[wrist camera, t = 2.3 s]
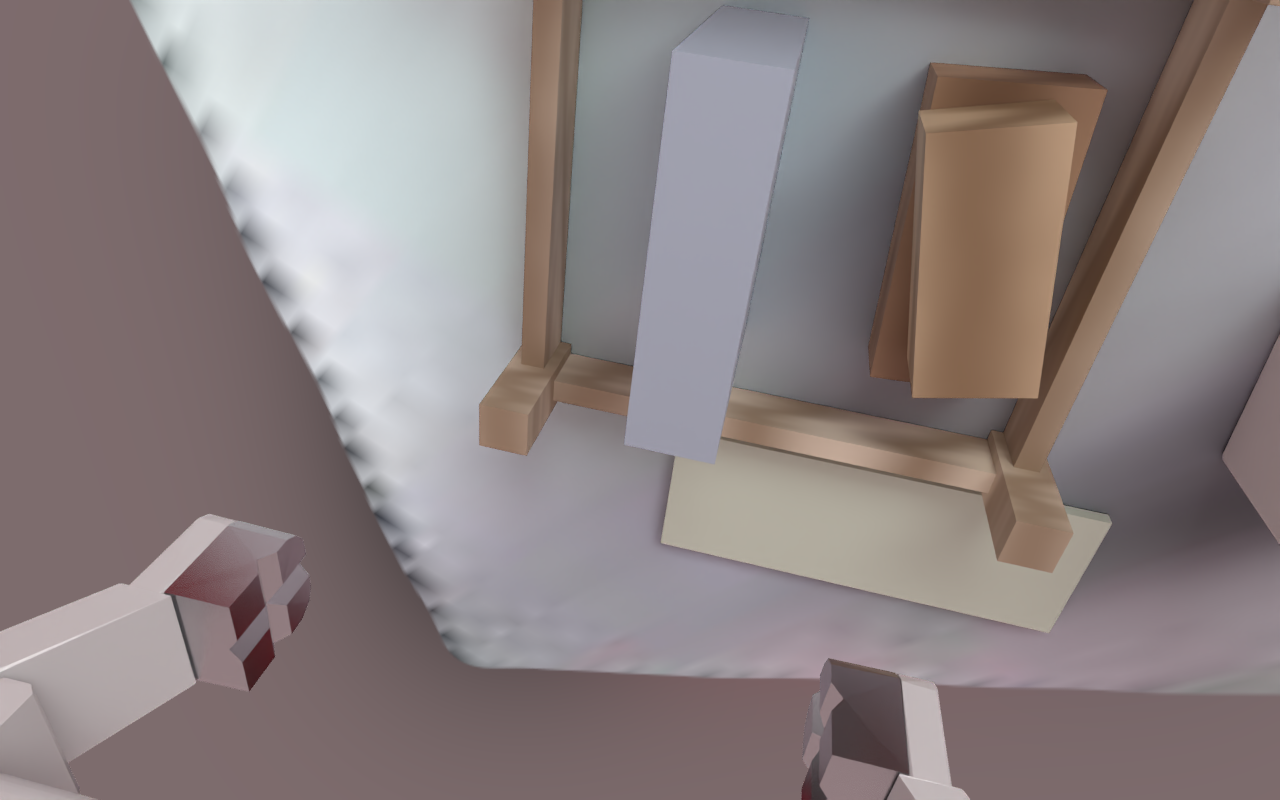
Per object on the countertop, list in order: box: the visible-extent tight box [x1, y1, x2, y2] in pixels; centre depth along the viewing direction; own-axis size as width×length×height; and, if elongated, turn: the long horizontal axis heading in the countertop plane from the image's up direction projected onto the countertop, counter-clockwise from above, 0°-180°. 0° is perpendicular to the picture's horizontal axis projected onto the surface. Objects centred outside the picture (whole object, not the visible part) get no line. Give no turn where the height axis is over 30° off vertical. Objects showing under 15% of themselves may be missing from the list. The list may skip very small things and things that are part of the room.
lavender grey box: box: [624, 5, 809, 465], centre depth 27 cm, size 3×12×10 cm, turn 173°
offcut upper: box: [907, 100, 1078, 398], centre depth 26 cm, size 4×9×3 cm, turn 7°
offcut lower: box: [868, 62, 1107, 382], centre depth 29 cm, size 5×11×3 cm, turn 177°
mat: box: [661, 436, 1112, 633], centre depth 38 cm, size 19×7×1 cm, turn 83°
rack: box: [479, 0, 1280, 573], centre depth 28 cm, size 22×21×6 cm
